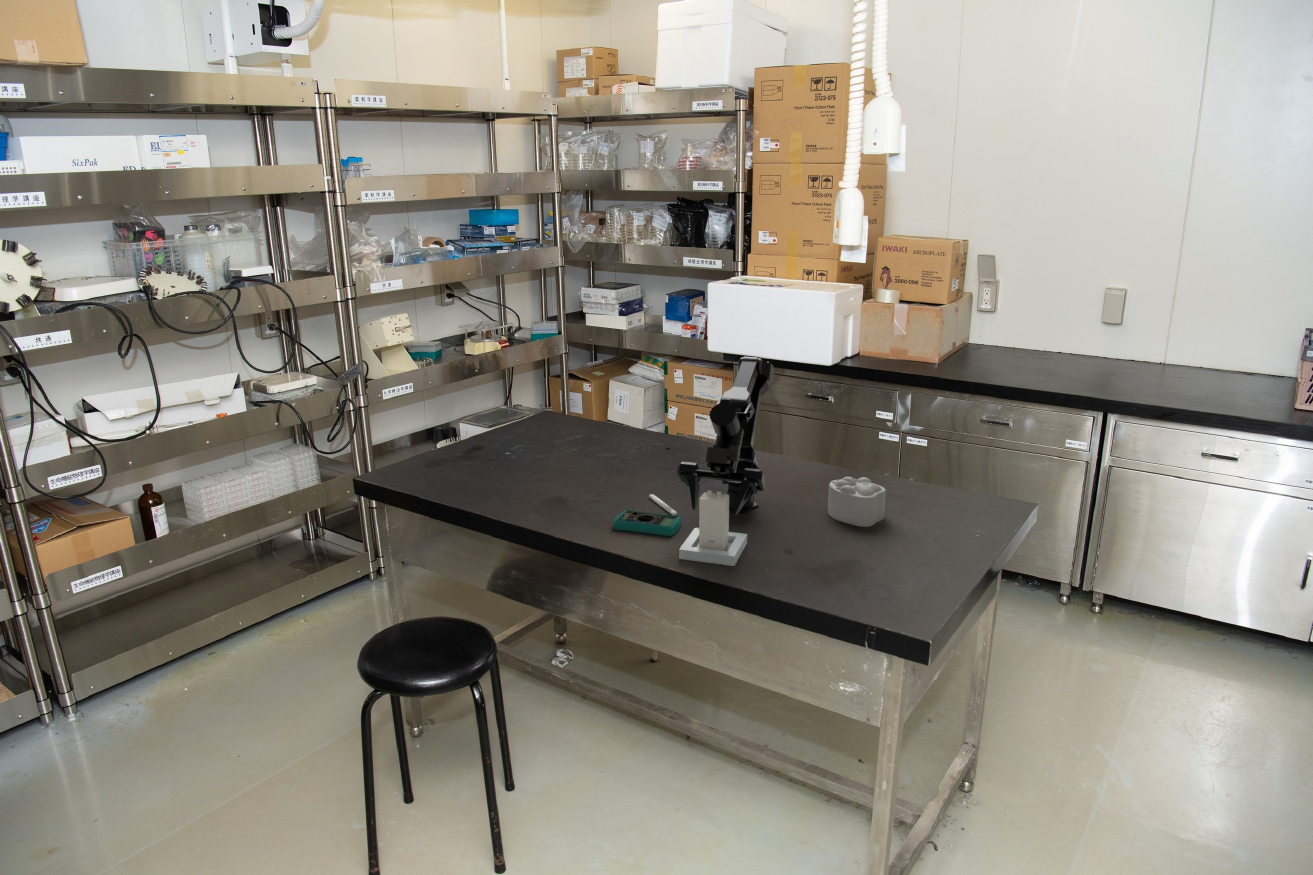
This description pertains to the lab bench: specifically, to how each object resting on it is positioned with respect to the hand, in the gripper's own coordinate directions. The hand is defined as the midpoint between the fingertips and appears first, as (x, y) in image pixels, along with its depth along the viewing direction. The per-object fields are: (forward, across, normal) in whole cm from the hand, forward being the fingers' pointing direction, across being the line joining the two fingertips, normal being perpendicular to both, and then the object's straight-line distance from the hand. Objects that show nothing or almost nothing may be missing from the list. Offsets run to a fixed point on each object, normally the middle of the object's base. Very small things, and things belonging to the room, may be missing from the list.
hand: (714, 512), depth 185 cm
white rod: (-8, -18, +22) cm, 30 cm away
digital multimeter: (+1, -18, +13) cm, 22 cm away
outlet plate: (+6, 0, +6) cm, 9 cm away
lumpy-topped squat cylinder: (-14, +27, +28) cm, 41 cm away
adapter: (+6, 0, +6) cm, 8 cm away
